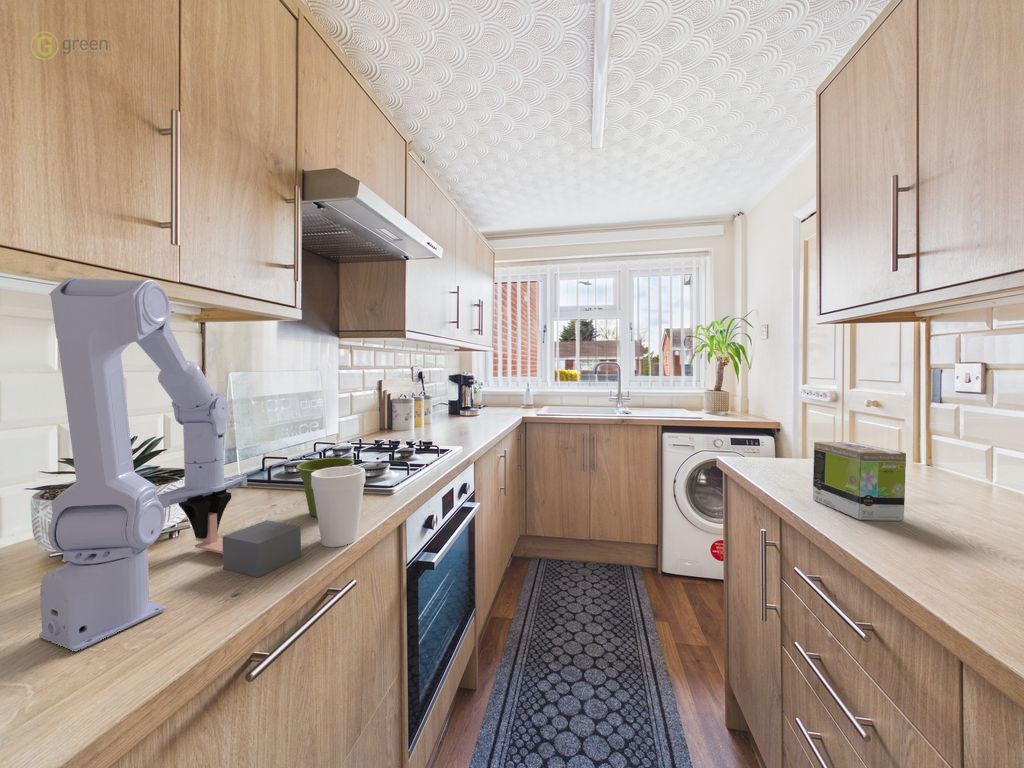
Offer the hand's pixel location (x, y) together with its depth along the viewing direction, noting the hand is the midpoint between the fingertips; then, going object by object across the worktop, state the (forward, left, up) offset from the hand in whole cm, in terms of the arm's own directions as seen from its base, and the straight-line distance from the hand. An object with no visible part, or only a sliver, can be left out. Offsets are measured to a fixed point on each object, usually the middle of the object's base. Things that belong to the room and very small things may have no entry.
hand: (206, 535), depth 77 cm
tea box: (+69, -116, -3) cm, 135 cm away
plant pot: (+23, -5, -3) cm, 24 cm away
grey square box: (0, -14, -2) cm, 14 cm away
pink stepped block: (0, -3, -1) cm, 4 cm away
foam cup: (+12, -19, -3) cm, 23 cm away
